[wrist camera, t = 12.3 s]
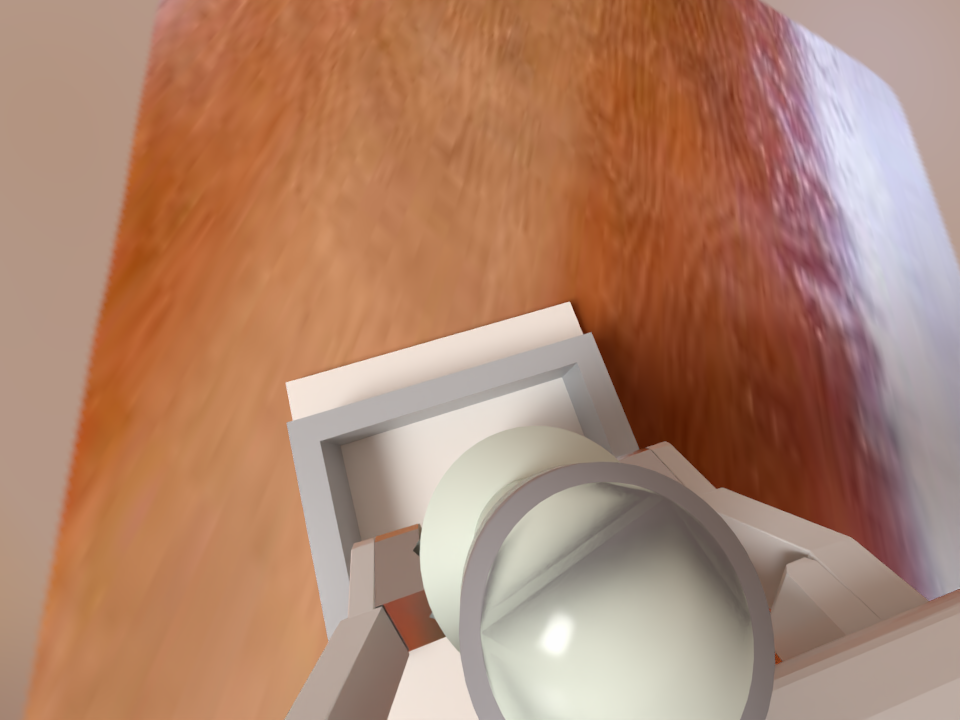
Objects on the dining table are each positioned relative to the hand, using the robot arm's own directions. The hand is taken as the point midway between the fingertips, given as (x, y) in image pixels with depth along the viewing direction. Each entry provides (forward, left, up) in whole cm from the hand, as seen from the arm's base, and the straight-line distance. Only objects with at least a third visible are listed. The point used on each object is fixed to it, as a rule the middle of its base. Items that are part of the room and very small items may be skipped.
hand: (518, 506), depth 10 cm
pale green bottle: (-1, 0, -7) cm, 7 cm away
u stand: (-1, +1, -11) cm, 12 cm away
